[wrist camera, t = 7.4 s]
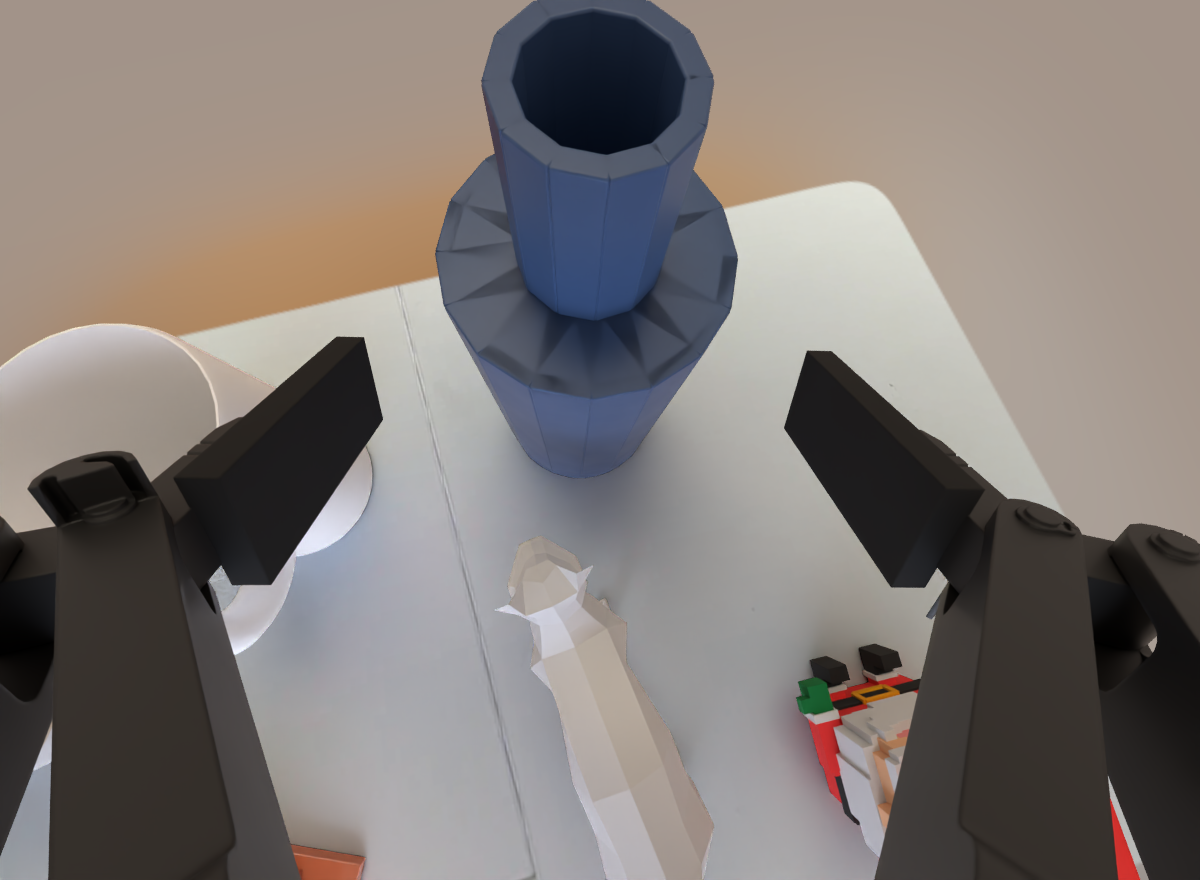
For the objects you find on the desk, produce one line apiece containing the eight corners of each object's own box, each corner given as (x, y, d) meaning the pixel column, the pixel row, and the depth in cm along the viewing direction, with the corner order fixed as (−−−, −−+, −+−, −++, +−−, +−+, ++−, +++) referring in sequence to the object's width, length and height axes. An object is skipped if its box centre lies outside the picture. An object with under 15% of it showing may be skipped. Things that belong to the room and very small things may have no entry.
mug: (216, 644, 25) (-103, 738, 13) (222, 421, 27) (-44, 332, 15) (379, 622, 26) (214, 692, 14) (372, 406, 28) (226, 309, 16)
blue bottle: (498, 464, 28) (284, 242, 7) (527, 336, 29) (423, -142, 9) (635, 489, 28) (814, 345, 7) (656, 361, 29) (850, -52, 9)
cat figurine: (581, 523, 27) (589, 505, 13) (739, 898, 24) (967, 1386, 10) (506, 556, 27) (435, 572, 13) (658, 945, 23) (782, 1532, 9)
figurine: (911, 633, 27) (1172, 706, 15) (954, 771, 26) (1278, 967, 14) (767, 669, 26) (926, 775, 14) (804, 814, 25) (1013, 1059, 13)
